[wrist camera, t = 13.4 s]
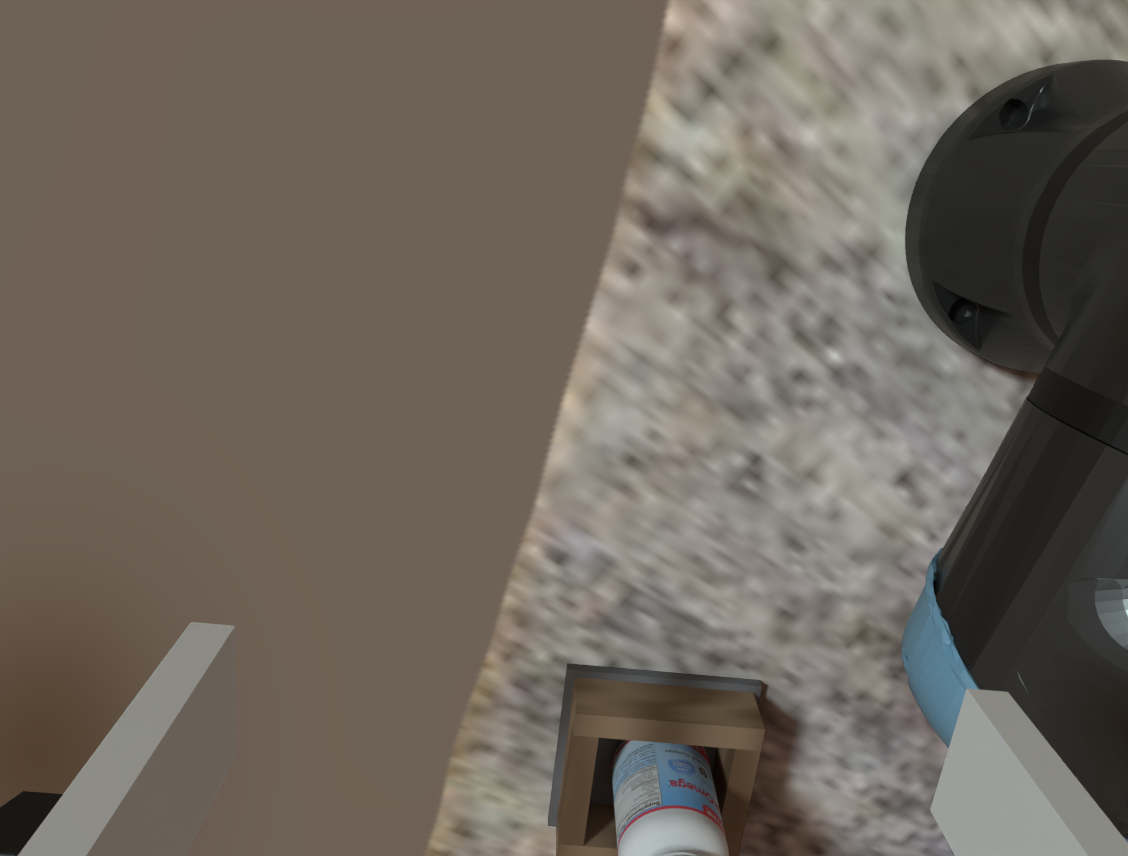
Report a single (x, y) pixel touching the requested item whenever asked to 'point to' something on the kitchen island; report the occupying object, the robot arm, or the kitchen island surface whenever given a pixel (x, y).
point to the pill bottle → (665, 801)
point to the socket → (654, 714)
